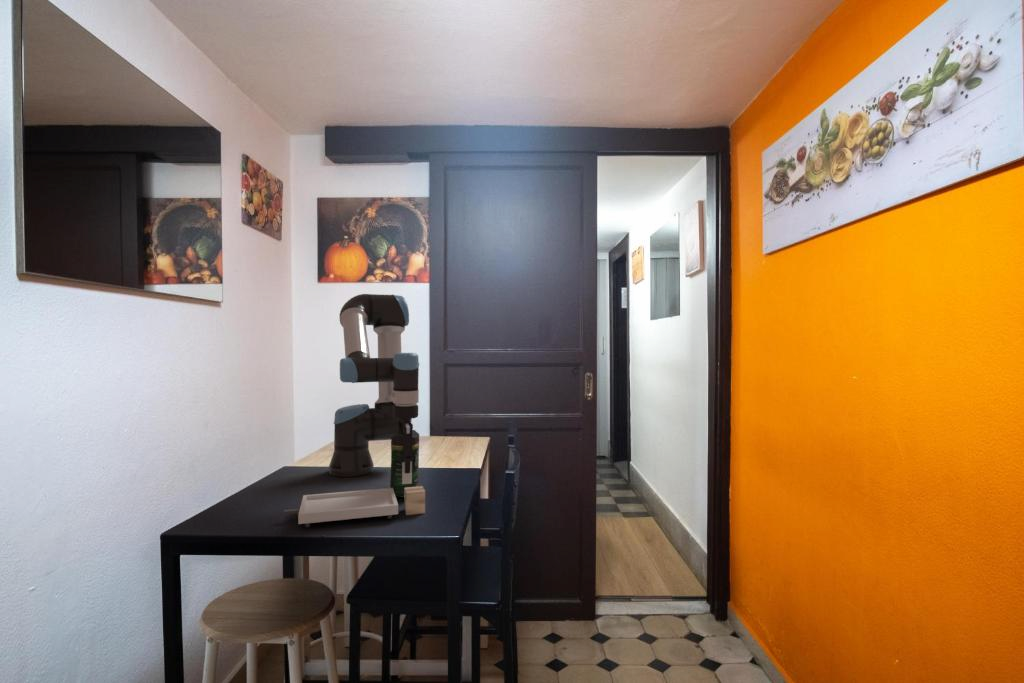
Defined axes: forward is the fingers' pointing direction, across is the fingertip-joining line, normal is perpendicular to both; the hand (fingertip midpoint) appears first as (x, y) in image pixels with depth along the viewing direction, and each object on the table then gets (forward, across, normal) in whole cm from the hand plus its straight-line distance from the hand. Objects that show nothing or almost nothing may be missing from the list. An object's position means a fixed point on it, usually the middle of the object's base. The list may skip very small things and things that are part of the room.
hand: (405, 478), depth 152 cm
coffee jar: (+4, 0, 0) cm, 4 cm away
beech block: (+5, +14, +1) cm, 15 cm away
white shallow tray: (+5, +12, -18) cm, 22 cm away
